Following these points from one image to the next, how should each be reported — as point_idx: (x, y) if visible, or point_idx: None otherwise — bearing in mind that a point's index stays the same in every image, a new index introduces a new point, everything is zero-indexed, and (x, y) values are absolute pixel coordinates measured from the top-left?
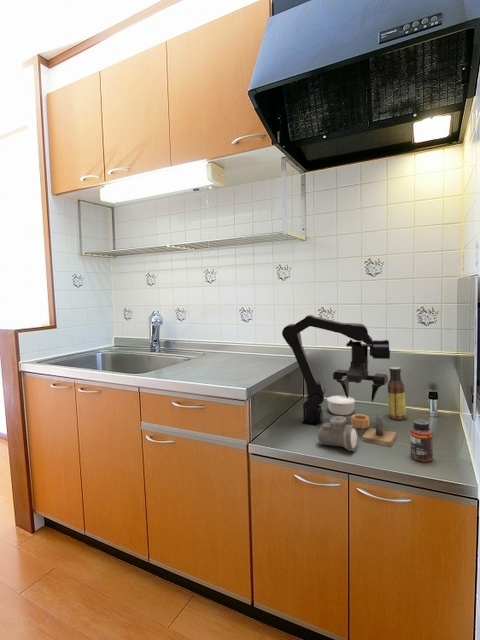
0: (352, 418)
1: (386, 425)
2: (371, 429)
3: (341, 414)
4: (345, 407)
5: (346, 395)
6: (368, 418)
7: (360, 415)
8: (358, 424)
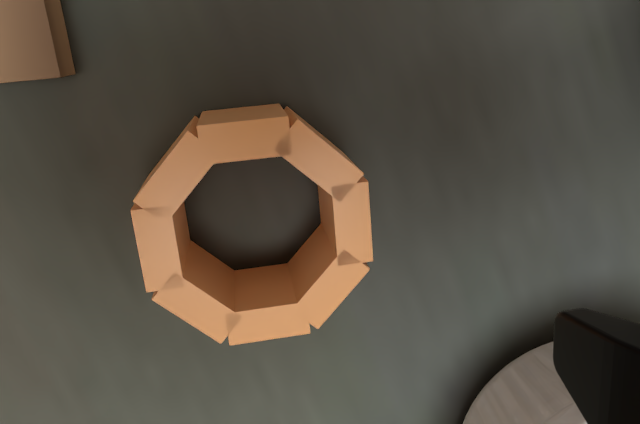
0: (332, 147)
1: (8, 360)
2: (2, 23)
3: (533, 349)
4: (534, 415)
5: (617, 324)
6: (145, 259)
7: (284, 303)
8: (233, 114)
